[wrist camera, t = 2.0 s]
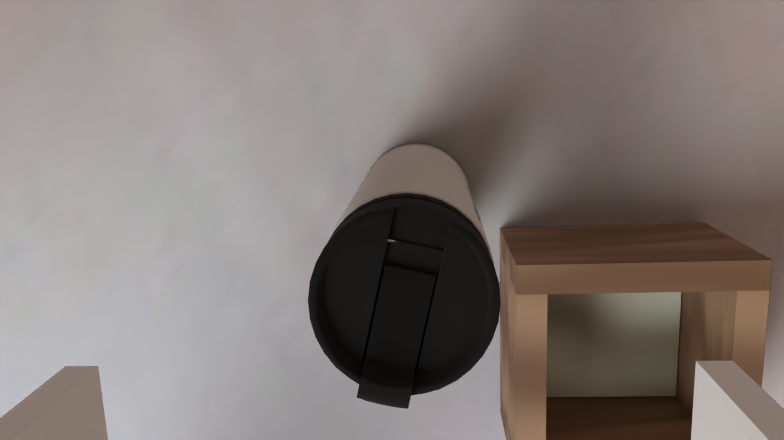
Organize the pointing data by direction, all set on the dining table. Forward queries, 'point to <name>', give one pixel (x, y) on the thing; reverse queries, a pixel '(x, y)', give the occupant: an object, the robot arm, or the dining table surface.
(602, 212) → the dining table surface
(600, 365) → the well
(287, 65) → the dining table surface
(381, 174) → the travel mug
